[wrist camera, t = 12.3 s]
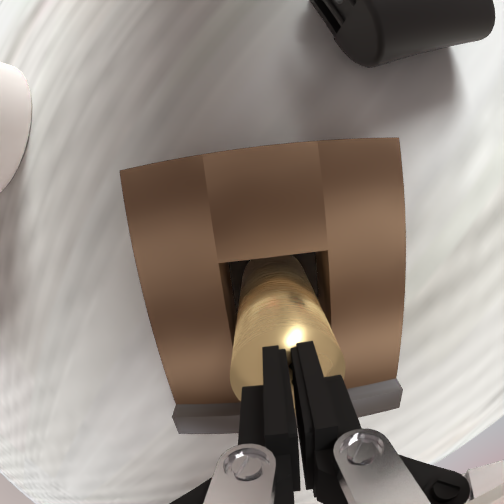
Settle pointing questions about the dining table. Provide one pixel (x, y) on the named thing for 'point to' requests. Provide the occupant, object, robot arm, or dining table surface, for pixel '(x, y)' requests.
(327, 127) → the dining table surface
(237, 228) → the jig
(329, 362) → the gold peg
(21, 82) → the cup
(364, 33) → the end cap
